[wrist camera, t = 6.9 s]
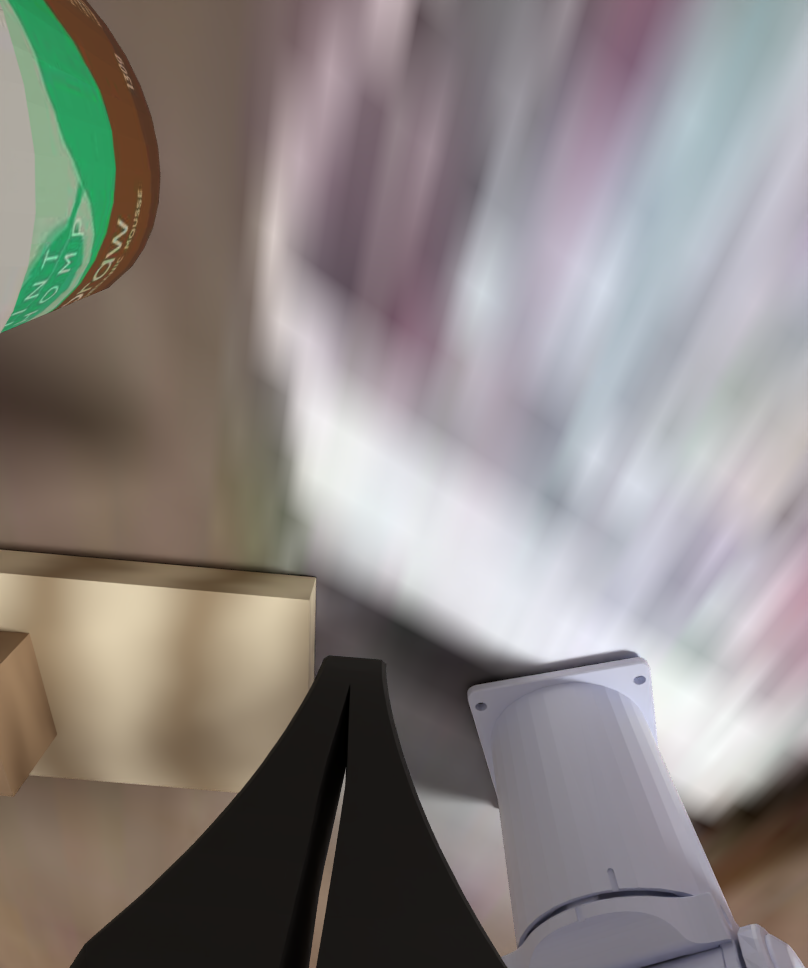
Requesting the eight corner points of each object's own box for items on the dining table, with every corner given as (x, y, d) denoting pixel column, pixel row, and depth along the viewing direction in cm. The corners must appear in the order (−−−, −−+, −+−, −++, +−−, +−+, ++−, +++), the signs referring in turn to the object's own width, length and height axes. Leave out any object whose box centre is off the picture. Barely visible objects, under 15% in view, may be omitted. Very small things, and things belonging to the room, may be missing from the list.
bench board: (316, 577, 23) (309, 600, 22) (312, 770, 28) (306, 798, 27) (-220, 530, 23) (-260, 550, 21) (-122, 733, 28) (-150, 760, 27)
